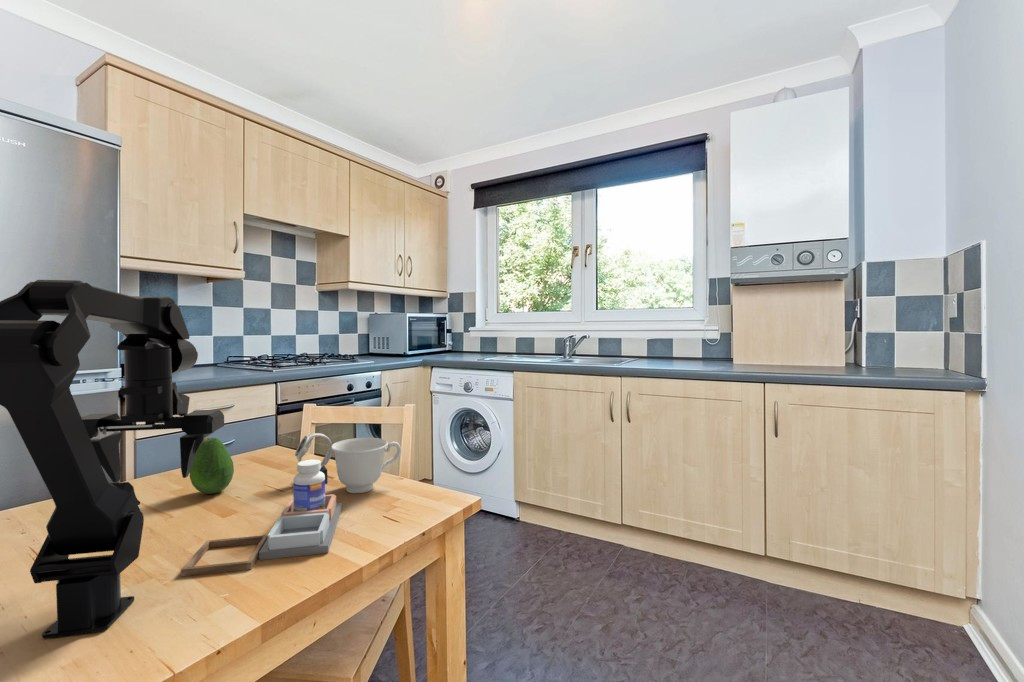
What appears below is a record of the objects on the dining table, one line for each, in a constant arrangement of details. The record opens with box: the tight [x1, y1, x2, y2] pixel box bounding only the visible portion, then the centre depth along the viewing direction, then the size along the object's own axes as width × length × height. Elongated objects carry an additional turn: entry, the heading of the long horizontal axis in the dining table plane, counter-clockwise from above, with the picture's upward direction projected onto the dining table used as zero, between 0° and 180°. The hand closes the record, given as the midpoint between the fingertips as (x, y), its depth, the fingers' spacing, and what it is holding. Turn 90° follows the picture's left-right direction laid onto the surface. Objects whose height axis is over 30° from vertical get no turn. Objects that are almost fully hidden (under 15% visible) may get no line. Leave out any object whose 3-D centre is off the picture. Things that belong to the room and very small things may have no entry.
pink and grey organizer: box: [258, 493, 343, 561], centre depth 82 cm, size 18×10×3 cm, turn 14°
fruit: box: [189, 436, 235, 495], centre depth 100 cm, size 8×8×12 cm
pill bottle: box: [292, 459, 326, 512], centre depth 86 cm, size 5×5×10 cm
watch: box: [294, 432, 334, 485], centre depth 107 cm, size 6×8×11 cm
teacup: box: [331, 437, 402, 494], centre depth 103 cm, size 12×15×10 cm
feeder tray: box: [180, 534, 268, 577], centre depth 73 cm, size 9×9×1 cm
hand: (151, 479), depth 72 cm, fingers open, 9 cm apart
